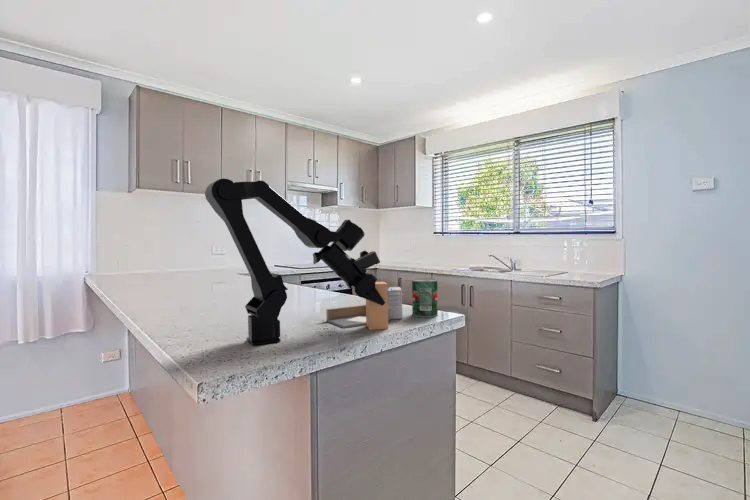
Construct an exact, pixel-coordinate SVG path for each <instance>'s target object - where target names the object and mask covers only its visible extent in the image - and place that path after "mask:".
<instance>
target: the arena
mask: <svg viewBox="0 0 750 500" xmlns="http://www.w3.org/2000/svg"><path fill="white" fill-rule="evenodd" d="M325 311H326V322H328V323H331V324H333V325H335V326H338V327H339V328H342V329H348V328H354V327H355V328H356V327H360V326H361V327H362V326H366V304H361V305H359V304H358V305H352V306H342V307H333V308H326V310H325ZM389 322H391V319H390V309H388V323H389Z"/></svg>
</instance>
